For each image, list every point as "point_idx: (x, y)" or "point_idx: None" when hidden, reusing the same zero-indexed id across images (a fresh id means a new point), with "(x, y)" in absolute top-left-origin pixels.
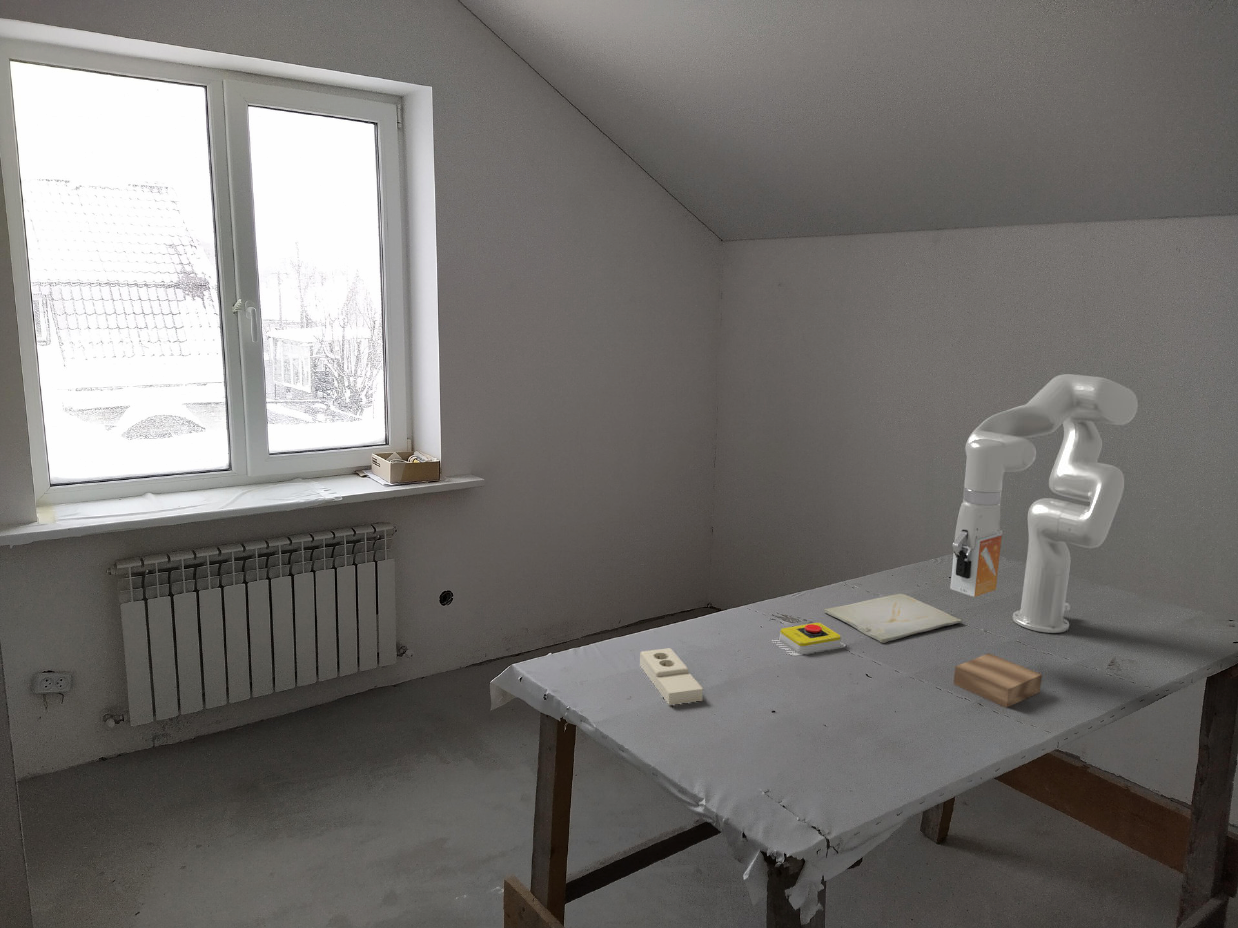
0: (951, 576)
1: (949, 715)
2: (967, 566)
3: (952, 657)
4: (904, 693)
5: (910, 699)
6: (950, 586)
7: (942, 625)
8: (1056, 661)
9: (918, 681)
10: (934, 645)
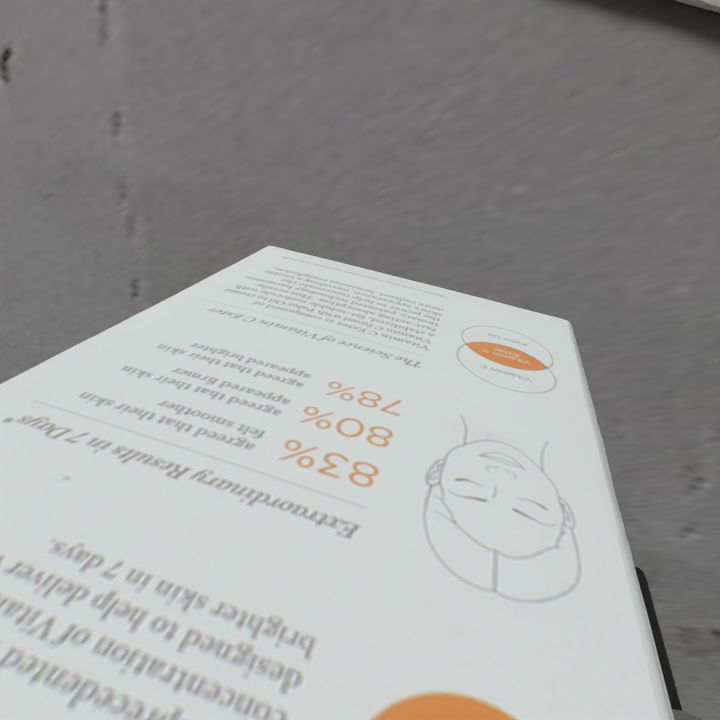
0: (209, 277)
1: None
2: None
3: (386, 223)
4: (26, 226)
5: (16, 257)
6: (259, 251)
7: (718, 10)
8: (631, 511)
9: (119, 220)
10: (450, 104)
